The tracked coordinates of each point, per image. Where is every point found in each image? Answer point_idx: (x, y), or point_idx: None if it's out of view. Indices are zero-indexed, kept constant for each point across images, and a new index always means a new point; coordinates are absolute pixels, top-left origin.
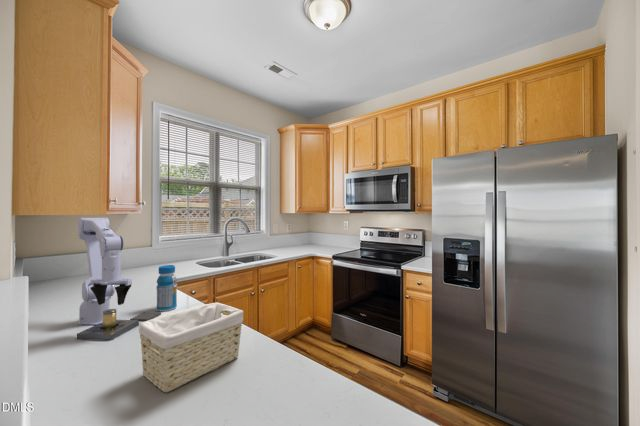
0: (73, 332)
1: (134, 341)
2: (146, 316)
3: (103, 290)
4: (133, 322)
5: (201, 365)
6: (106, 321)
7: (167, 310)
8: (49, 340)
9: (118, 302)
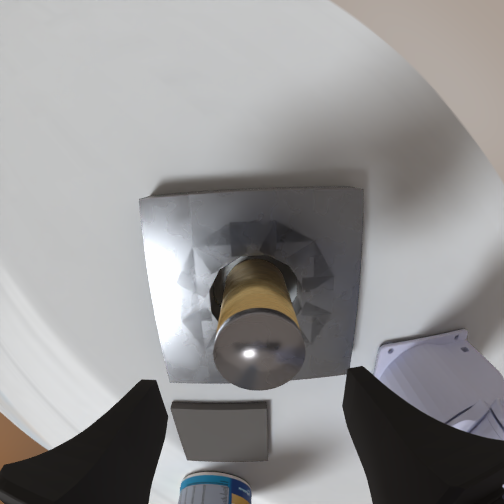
0: (431, 260)
1: (45, 205)
2: (211, 432)
3: (383, 499)
4: (168, 356)
5: None
6: (247, 288)
7: (191, 474)
8: (456, 174)
9: (136, 391)
